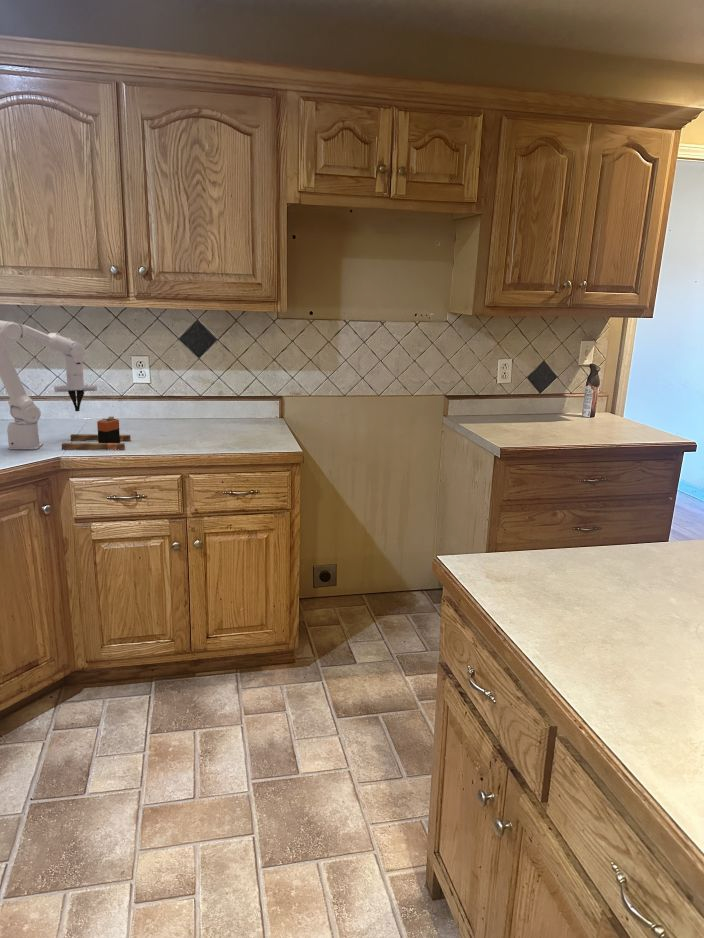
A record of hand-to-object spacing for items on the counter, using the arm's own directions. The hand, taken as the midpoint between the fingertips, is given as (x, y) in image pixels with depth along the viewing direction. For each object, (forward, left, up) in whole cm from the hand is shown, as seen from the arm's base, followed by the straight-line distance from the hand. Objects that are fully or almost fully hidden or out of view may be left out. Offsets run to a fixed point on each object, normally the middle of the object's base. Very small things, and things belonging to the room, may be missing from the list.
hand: (77, 410), depth 252 cm
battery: (+13, -9, -11) cm, 19 cm away
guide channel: (+8, -10, -10) cm, 17 cm away
